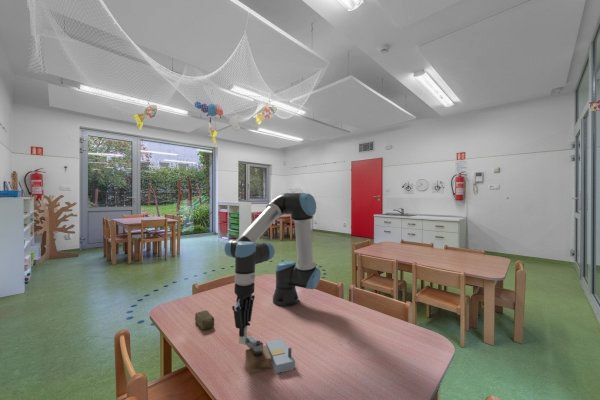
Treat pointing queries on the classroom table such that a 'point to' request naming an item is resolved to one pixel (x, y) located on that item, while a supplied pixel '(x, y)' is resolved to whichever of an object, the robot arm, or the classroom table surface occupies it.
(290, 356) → the grey block with peg
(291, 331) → the classroom table surface
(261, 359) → the block
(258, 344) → the latch bar
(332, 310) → the classroom table surface
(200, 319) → the stone block
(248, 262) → the robot arm
